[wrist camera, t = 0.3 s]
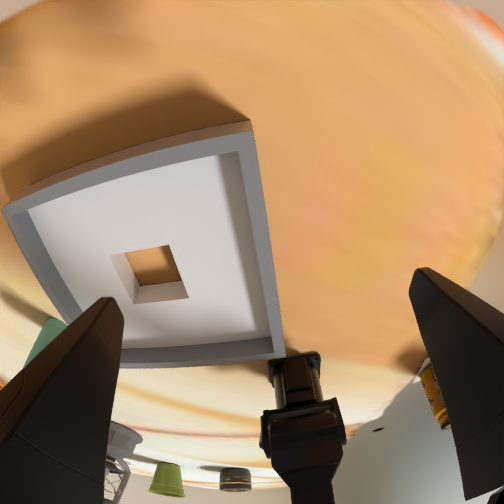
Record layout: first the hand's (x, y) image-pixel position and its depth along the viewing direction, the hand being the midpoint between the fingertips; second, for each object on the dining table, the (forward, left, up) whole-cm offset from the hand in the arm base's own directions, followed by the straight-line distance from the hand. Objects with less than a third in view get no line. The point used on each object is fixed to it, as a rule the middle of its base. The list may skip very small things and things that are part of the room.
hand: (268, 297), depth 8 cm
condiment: (-37, -26, -15) cm, 48 cm away
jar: (-90, +20, -15) cm, 94 cm away
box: (-7, +10, -14) cm, 19 cm away
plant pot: (-83, +40, -15) cm, 93 cm away
